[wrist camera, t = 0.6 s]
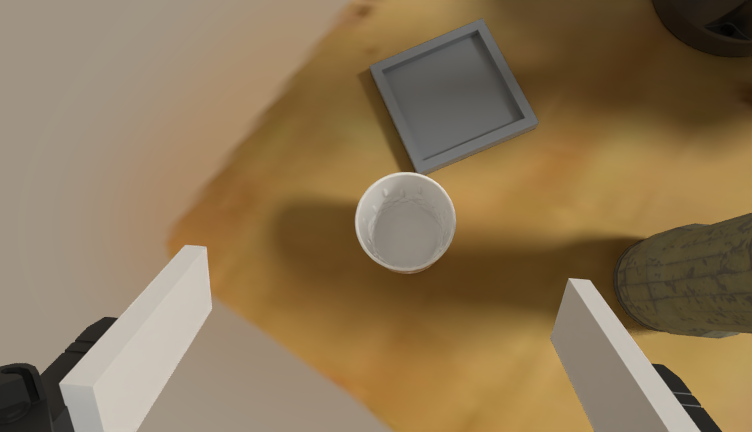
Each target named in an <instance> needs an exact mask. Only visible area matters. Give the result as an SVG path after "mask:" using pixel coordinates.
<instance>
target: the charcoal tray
mask: <svg viewBox="0 0 752 432" xmlns="http://www.w3.org/2000/svg"><path fill="white" fill-rule="evenodd" d="M369 67H370V72H371V75H372V77H373V79H374V82H375V84H376V86H377V88H378V90H379V93H380V95H381V97H382V99H383V101H384V104H385V106H386V108H387V110H388V112H389V115H390V117H391V119H392V121H393V123H394V126H395V128H396V130H397V132H398V134H399V137H400V139H401V141H402V143H403V145H404V148H405V150H406V152H407V154H408V156H409V159H410V161H411V163H412V165H413V167H414V170H415V172H416V173H418V174H421V175H426V174H429V173H431V172H434V171H436V170H438V169H441V168H443V167H445V166H448V165H450V164H452V163H455V162H457V161H460V160H462V159H464V158H467V157H469V156H471V155H474V154H476V153H479V152H481V151H483V150H486V149H488V148H490V147H493V146H495V145H498V144H500V143H502V142H505V141H507V140H509V139H512V138H514V137H516V136H519V135H521V134H524V133H526V132H528V131H531V130H533V129H535V128H536V127H537V125H538V124H539V121H538V120H537V118H536V116H535V114H534V112H533V110H532V108H531V107H530V105H529V103H528V101H527V99H526V97H525V96H524V94H523V92H522V90H521V88H520V86H519V84H518V83H517V81H516V79H515V77H514V75H513V73H512V72H511V70H510V68H509V66H508V64H507V62H506V61H505V59H504V57H503V55H502V53H501V51H500V49H499V48H498V46H497V44H496V42H495V40H494V38H493V37H492V35H491V33H490V31H489V29H488V27H487V25H486V24H485V22H484V20H483V18H482V19H479V20H477V21H475V22H472V23H470V24H467V25H465V26H463V27H460V28H458V29H456V30H453V31H451V32H449V33H446V34H444V35H441V36H439V37H437V38H434V39H432V40H430V41H427V42H425V43H423V44H420V45H418V46H416V47H413V48H411V49H408V50H406V51H404V52H401V53H399V54H397V55H394V56H392V57H390V58H387V59H385V60H382V61H380V62H378V63H375V64H373V65H371V66H369Z"/></svg>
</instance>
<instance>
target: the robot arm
mask: <svg viewBox="0 0 752 432" xmlns="http://www.w3.org/2000/svg"><path fill="white" fill-rule="evenodd" d="M653 3H654V6H655V9H656V11H657V13H658V15H659V17H660V19H661V20H662V22H663V23H664V24H665V26H666V27H667V28H668V29H669V30H670V31H671V32H672V33H673V34H674V35H675V36H677V37H678V38H679V39H680V40H682V41H683V42H685V43H687V44H688V45H690V46H692V47H694V48H696V49H699V50H701V51H704V52H707V53H710V54H714V55H719V56H727V57H744V56H752V0H653ZM211 303H212V302H211V292H210V281H209V270H208V259H207V249H206V247H204V246H193V245H185V246H184V247H183V248H182V249H181V250H180V251H179V252H178V253H177V254H176V256H175V257H174V258H173V259H172V260H171V261H170V262H169V263H168V264H167V266H166V267H165V268H164V269H163V270H162V271H161V272H160V273H159V274H158V275H157V276H156V278H155V279H154V280H153V281H152V282H151V283H150V284H149V285H148V286H147V288H146V289H145V290H144V291H143V292H142V293H141V294H140V295H139V296H138V297H137V298H136V300H135V301H134V302H133V303H132V304H131V305H130V306H129V307H128V308H127V309H126V310H125V312H124V313H123V314H122V315H121V316H120V317H119V318H112V317H104V318H102V319H101V320H99V321H98V322H96V323H94V324H92V325H91V326H89V327H87V328H86V330H84V331H83V332H82V333H81V334H80V336H78V338H77V339H76V340H75V342H74V343H72V344H71V345H70V346H69V347H68V348H67V349H66V350H65V353H62V354H61V355H60V356H59V357H58V358H57V359H56V360H55V361H54V362H53V363H52V364H51V365H50V366H49V367H48V368H47V369H46V370H45V371H44V372H43V373H42V374H41V375H39V372H38V370H37V369H36V367H35V366H32V365H30V364H26V363H14V364H10V365H5V366H1V367H0V432H136V431H137V429H138V428H139V426H140V425H141V423H142V421H143V420H144V418H145V416H146V415H147V413H148V412H149V410H150V408H151V407H152V405H153V404H154V402H155V400H156V399H157V397H158V396H159V394H160V392H161V390H162V389H163V387H164V386H165V384H166V383H167V381H168V379H169V377H170V376H171V375H172V373H173V371H174V370H175V368H176V367H177V365H178V363H179V362H180V360H181V358H182V357H183V355H184V354H185V352H186V350H187V349H188V347H189V346H190V344H191V342H192V341H193V339H194V338H195V336H196V334H197V333H198V331H199V329H200V328H201V326H202V325H203V323H204V321H205V320H206V318H207V316H208V315H209V313H210V312H211V310H212V304H211ZM550 339H551V341H552V344H553V346H554V348H555V350H556V352H557V354H558V356H559V358H560V360H561V362H562V365H563V367H564V369H565V371H566V373H567V375H568V377H569V379H570V381H571V383H572V385H573V388H574V390H575V392H576V394H577V396H578V398H579V400H580V402H581V404H582V406H583V408H584V411H585V413H586V415H587V417H588V419H589V421H590V423H591V425H592V427H593V429H594V432H722V431H721V430H720V429H719V427H718V426H717V425H716V424H715V422H714V421H713V420H712V418H711V417H710V416H709V415H708V413H707V412H706V411H705V409H704V408H701V404H700V403H699V402H698V401H697V399H696V398H695V397H694V396H692V395H691V392H690V390H689V389H688V388H687V386H686V385H685V384H684V383H683V381H682V380H681V379H680V378H679V377H678V376H677V375H675V374H674V373H673V372H672V371H670V370H669V369H668V368H667V367H665V366H664V365H661V364H651V363H650V362H649V360H648V359H647V358H646V356H645V355H644V354H643V352H642V351H641V349H640V348H639V347H638V345H637V344H636V343H635V341H634V340H633V338H632V337H631V336H630V334H629V333H628V332H627V330H626V329H625V328H624V326H623V325H622V323H621V322H620V321H619V319H618V318H617V317H616V315H615V314H614V313H613V311H612V310H611V308H610V307H609V306H608V304H607V303H606V302H605V300H604V299H603V297H602V296H601V295H600V293H599V292H598V291H597V289H596V288H595V287H594V285H593V284H592V282H591V281H590V280H584V279H573V278H568V281H567V285H566V288H565V291H564V295H563V298H562V301H561V305H560V308H559V311H558V315H557V318H556V321H555V324H554V328H553V331H552V334H551V338H550Z"/></svg>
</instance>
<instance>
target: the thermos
mask: <svg viewBox="0 0 752 432" xmlns="http://www.w3.org/2000/svg"><path fill="white" fill-rule="evenodd" d="M614 289H615V292H616V295H617V298H618V301H619V303H620V304H621V306H622V307H623V308H624V310H625V311H626V313H627V314H628V315H629V316H630V317H632V318H633V319H634V320H635V321H637V322H638V323H639V324H641V325H643V326H645V327H648V328H650V329H653V330H655V331H663V332H668V333H670V334H677V335H686V336H697V337H708V338H724V337H728V336H733V335H738V334H739V333H752V213H749V214H746V215H742V216H739V217H736V218H732V219H729V220H725V221H722V222H719V223H715V224H712V225H706V224H691V225H686V226H682V227H677V228H674V229H671V230H668V231H665V232H662V233H659V234H655V235H652V236H651V237H649V238H647V239H646V240H643V241H639V242H638V243H636V244H634V245H633V246H631V247H629V248H628V249H627V250H626V251H625V252H624V253H623V254H622V256H621V257H620V258H619V259H618V262H617V265H616V268H615V271H614Z"/></svg>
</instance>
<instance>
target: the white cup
mask: <svg viewBox="0 0 752 432" xmlns="http://www.w3.org/2000/svg"><path fill="white" fill-rule="evenodd" d="M455 228H456V215H455V210H454V206H453V203H452V201H451V199H450V197H449V195H448V194H447V193H446V191H445V190H444V189H443V188H442V187H441V186H440V185H439V184H438V183H437V182H435V181H434V180H432V179H430V178H429V177H426V176H424V175H421V174H418V173H412V172H399V173H394V174H390V175H387V176H385V177H383V178H381V179H379V180H378V181H376V182H375V183H373V184H372V185H371V186H370V187H369V188H368V189H367V190H366V192H365V193H364V194H363V196H362V197H361V199H360V201H359V204H358V206H357V210H356V214H355V229H356V234H357V237H358V240H359V242H360V244H361V246H362V248H363V249H364V251H365V252H366V253H367V254H368V255H369V257H371V258H372V259H373V260H374V261H375V262H377V263H378V264H380V265H382V266H383V267H385V268H387V269H389V270H391V271H394V272H397V273H403V274H412V273H417V272H420V271H423V270H425V269H427V268H429V267H430V266H432V265H433V264H434V263H435V262H436V261H437V260H438V259H439V258H440V257H441V256H442V255H443V254H444V253H445V252H446V250H447V249H448V247H449V246H450V244H451V242H452V239H453V237H454V233H455Z"/></svg>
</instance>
